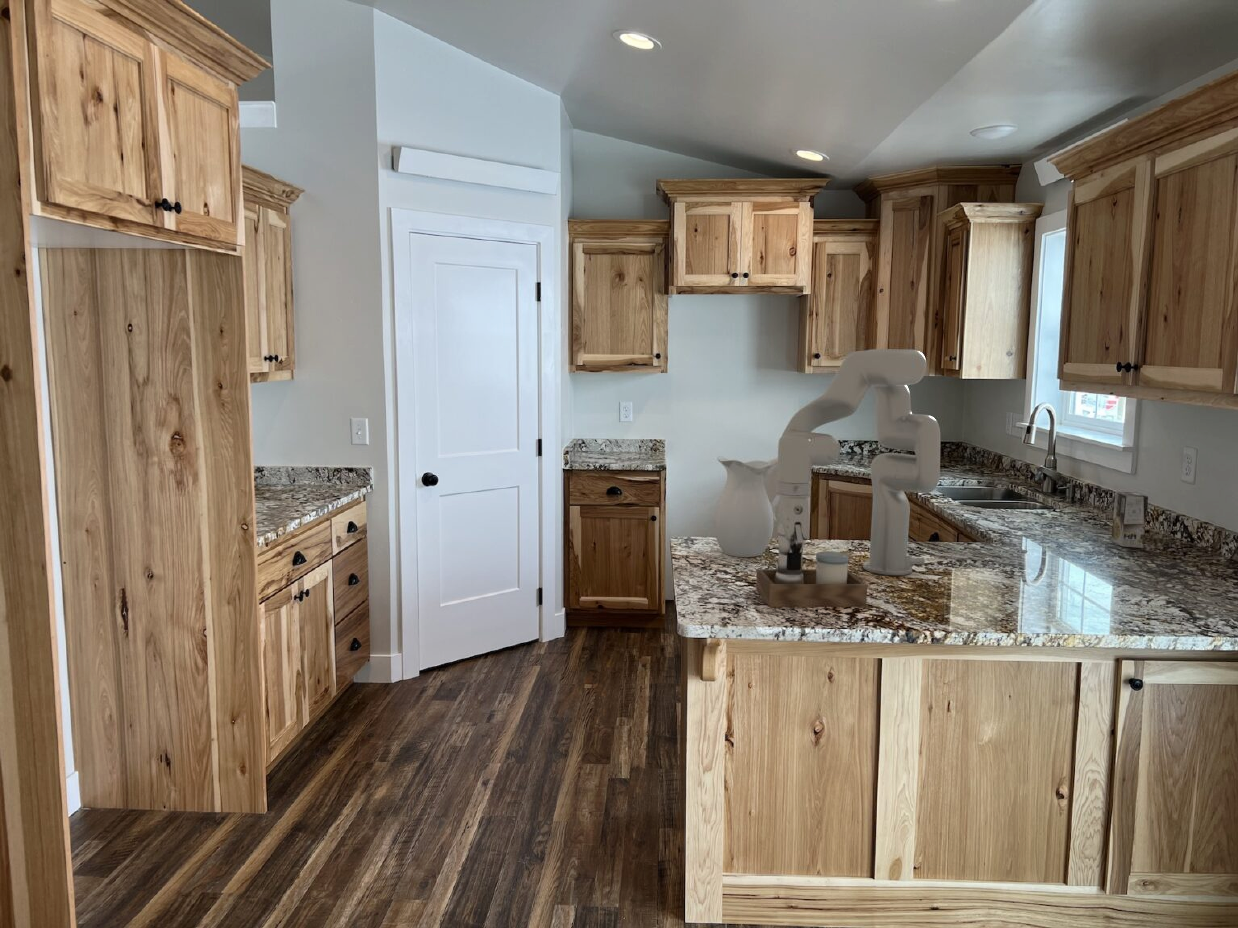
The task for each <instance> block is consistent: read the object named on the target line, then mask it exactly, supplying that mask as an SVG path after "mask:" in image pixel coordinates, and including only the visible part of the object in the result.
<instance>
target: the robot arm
mask: <svg viewBox="0 0 1238 928" xmlns="http://www.w3.org/2000/svg"><path fill="white" fill-rule="evenodd" d="M926 371H927V360H926V357H925V355H924V354H923V353H922V352H921V351H920V350H917V349H903V348H901V349H900V348H899V349H898V348H897V349H895V348H894V349H893V348H892V349H891V348H875V349H874V348H872V349H867V350H858V351H857V350H856V351H852V352H850V353H849V354H847V355H846V356H845V358H844V359H843V361H842V362H841V364H840V366H839V368H838V370H837V371H836V373H835V375H834V376H833V378H832V380H831V382H830V383H829V384H828V386H827V388H826V390H825V392H824V394H822V395H821V396H818V397H817V398H815V399H814V400H813V401H811V402H808V404H807V405H805V406H803V407H802V408H801V409H799V410H798V411H797V412H796V413H794V414H793V416H792V417H791V419H790V420H789V421H788V424H787V425H786V427H785V429H784V431H783V433H782V434H781V437H780V438H779V440H778V445H777V448H778V449H777V458H778V464H777V470H776V471H777V472H776V490H775V491H776V496H780V500H779V503H778V510H777V511H778V513H777V527H778V526H779V525H780V523H782V525H783V528H784V532H785V538H786V539H787V540H788V549H789V553H787V566H786V569H787V570H800V569H801V554H802V544H803V540H805V541H808V540H809V535H810V534H809V530H810V529H809V527H810V526H809V524H810V523H809V522H810V521H809V514H810V513H809V501H808V498H809V497H810V496H811V478H812V477H811V475H812V474H811V472H812V466H819V467H826V466H830V465H832V464H834V463H835V462H836V461H837V460H838V458H839V457H840V455H841V444H840V441H839V440H838V439H837V438H836V437H835V436H833V435H831V434H828V433H823V432H821V433H820V432H814V430H816V429H817V428H819V427H822V426H823V425H826V424H830V423H833V422H837V421H839V420H842V419H845V418H848V417H851V416H852V415H854V414H855V413H856V412H857V410H858V408H859V406H860V404H861V403H862V401H863V399H864V397H865V395H866V394H867V392H868V390H869V388H872V389H873V391H874V394H875V399H876V400H875V401H876V402H875V403H876V438H877V442H878V444H879V445H880V446H882V447H883V448H886V449H893V450H900V451H901V450H902V451H909V452H910V451H912V452H914V454H907V453H899V452H898V453H896V452H885V453H880V454H879V455H877V456H876V457H874V459H872V462H871V464H870V478H871V485H872V507H871V508H872V511H871V526H870V527H871V528H870V529H871V530H870V545H869V546H870V547H869V559H868V560H866V561H863V564H862V568H863V569H864V570H866V571H867V572H870V573H873V574H879V575H884V576H885V575H886V576H904V575H909V574H912V572H913V567H912V566H913V565H914V564H917V565H924V564H925V563H926V559H925V557H924V556H916V555H911V554H909V553H908V544H909V543H908V542H909V528H910V514H911V513H910V511H911V507H910V503H909V499H908V497H907V495H906V494H905V492H911V493H919V494H930V493H932V492H934V491H935V490H936V489H937V487H938V484H939V482H940V477H941V429H940V425H939V422H938V421H937V419H935V417H933V416H931V415H927V414H920V413H919V414H918V413H912V408H911V393H910V390H909V389H910V388H909V387H908V386H909V385H915V384H917V383H919V382H920V381H921V380H922V379H924V376H925V374H926ZM797 509H798V510H797ZM801 532H802V533H801ZM802 535H803V537H802ZM791 536H795V538H796V539H792V538H791ZM805 541H804V542H805ZM792 542H795V543H793V546H792ZM802 555H803V554H802Z"/></svg>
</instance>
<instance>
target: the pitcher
mask: <svg viewBox="0 0 1238 928" xmlns="http://www.w3.org/2000/svg"><path fill="white" fill-rule="evenodd" d="M717 460H718V463H720V464H721V465H722V466H723V467H724V468H725V470H726V473H727V474H726V475H727V476H726V477H727V478H726V481H725V484H724V487H723V490H722V492H721V495H720V496H719V499H718V502H717V504H716V508H715V511H714V516H713V517H714V519H713V530H714V535H715V538H716V542H717V544H718V546H719V547H720V549H721V551H722V553H724V554H725V555H728V556H730V557H735V558H736V557H737V558H754V557H760V556H761V555H762V554H763V553H764V552H765V551H766V549H767V547H768V546H769V544H770V542H771V539H772V537H773V531H774V523H776V522H778V519H777V518H776V514H775V511H776V508H777V506H779V500H780V496H777V495H776V496H775V497H774V498H773V500H772V502H771V501H770V499H769V496H768V492H767V490H766V487H765V483H764V478H767V477H768V473H769V471H770V470H771V469H772V468H773V467H775V466H778V457H777V458H774V459H771V460H770V461H764V460H751V461H747V462H743V461H740V460H736V459H728V458H726V457H724V456H718V457H717Z"/></svg>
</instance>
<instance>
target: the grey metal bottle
mask: <svg viewBox="0 0 1238 928" xmlns="http://www.w3.org/2000/svg"><path fill="white" fill-rule="evenodd" d="M797 510H798V509H797ZM801 533H802V532H801ZM802 537H803V535H802ZM791 538H792V539H796V538H795V536H791ZM777 542H778V543H777V544H778V561H777V572H776V576H775V584H804V579H803V574H802V569H803V555H804V554H803V553H804V545H805V540H803V544H802V554H801V569H800V570H787V569H786V566H787V553H789V549H788V540H787V539H786V538H785V532H784V528H783V525H782V523H780V525H779V526H778V525H777ZM793 543H795V542H792V546H793Z"/></svg>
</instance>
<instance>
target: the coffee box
mask: <svg viewBox="0 0 1238 928" xmlns="http://www.w3.org/2000/svg"><path fill="white" fill-rule="evenodd" d="M1148 501H1149V496H1148V495H1144V494H1142V493H1139V492H1136V491H1115V493H1114V504H1113V506H1114V507H1113V515H1112V516H1113V518H1112V530H1111V539H1110V540H1111V542H1113V543H1115V544H1117V545H1118V546H1121V547H1123V548H1125V547H1126V548H1137V549H1138V548H1140V549H1142V548H1144V542H1145V541H1144V540H1145V533H1146V532H1145V530H1146V521H1147V513H1148Z"/></svg>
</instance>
